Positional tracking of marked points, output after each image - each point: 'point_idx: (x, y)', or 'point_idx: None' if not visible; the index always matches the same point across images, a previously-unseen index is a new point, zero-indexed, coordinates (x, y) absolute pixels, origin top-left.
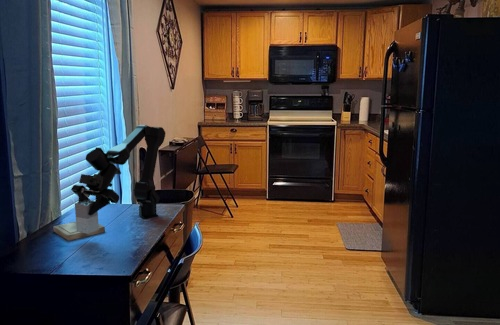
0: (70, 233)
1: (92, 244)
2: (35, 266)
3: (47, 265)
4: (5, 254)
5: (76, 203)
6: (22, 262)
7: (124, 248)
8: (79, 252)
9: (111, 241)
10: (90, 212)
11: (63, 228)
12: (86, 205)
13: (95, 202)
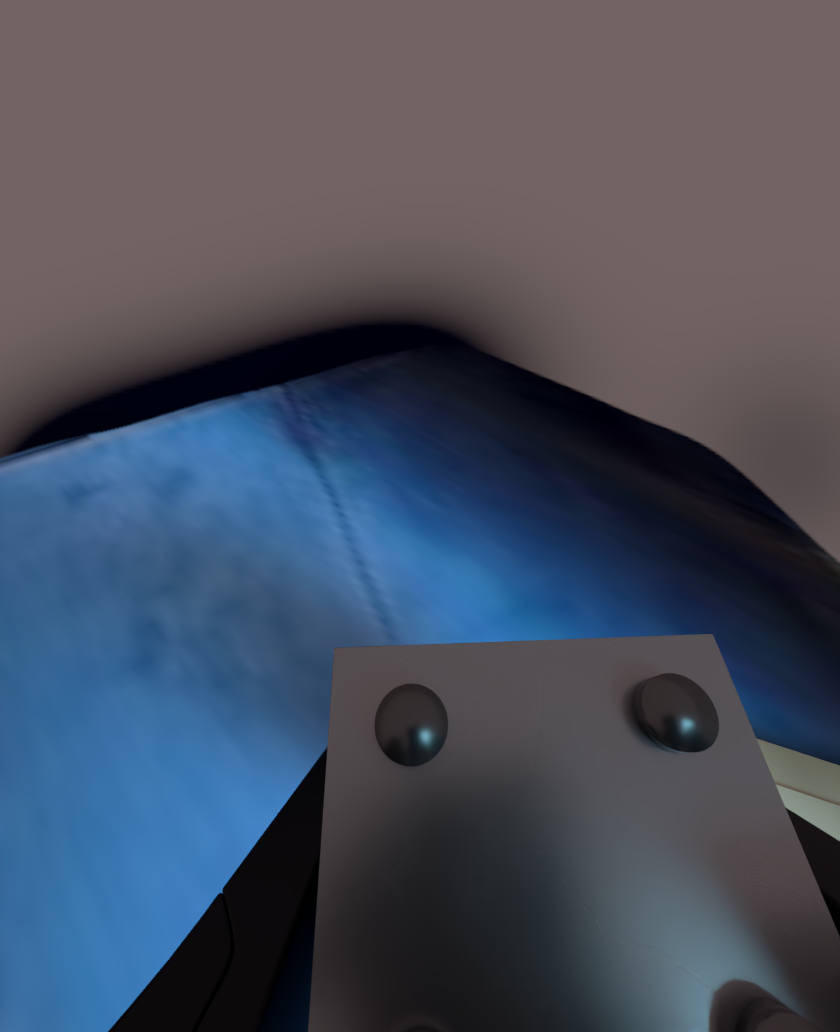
0: None
1: None
2: (397, 399)
3: (358, 421)
4: (639, 418)
5: (664, 642)
6: (484, 401)
7: (43, 814)
8: (336, 585)
9: None
10: (326, 749)
11: (811, 797)
12: (337, 659)
13: (198, 1024)
